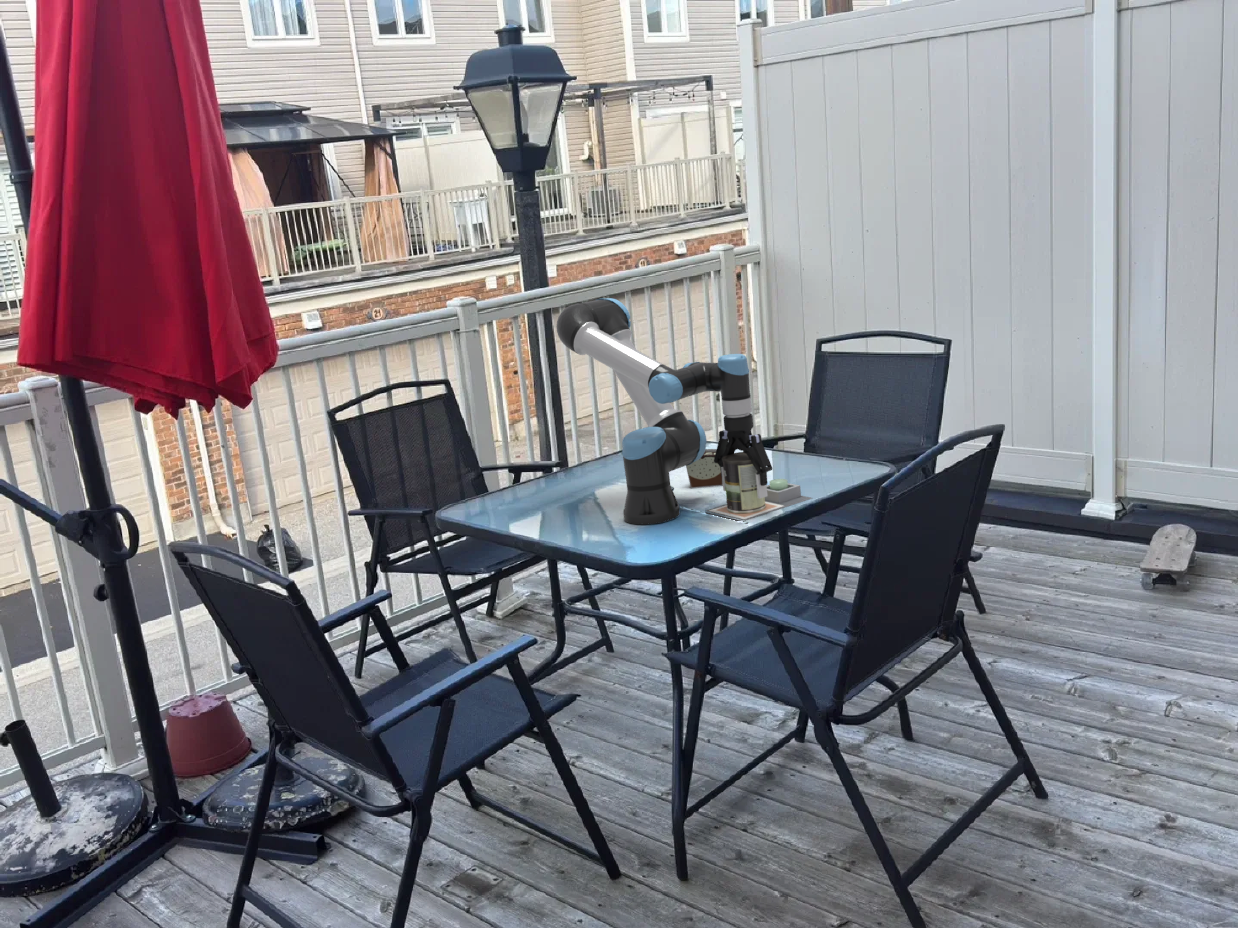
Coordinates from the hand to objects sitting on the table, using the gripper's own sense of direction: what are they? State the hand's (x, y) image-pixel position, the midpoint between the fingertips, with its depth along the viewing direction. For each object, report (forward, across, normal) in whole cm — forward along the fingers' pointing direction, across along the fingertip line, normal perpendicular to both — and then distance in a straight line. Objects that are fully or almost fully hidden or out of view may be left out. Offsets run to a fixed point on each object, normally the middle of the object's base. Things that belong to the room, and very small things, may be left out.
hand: (745, 493), depth 285 cm
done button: (+3, 0, -12) cm, 12 cm away
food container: (+5, +32, -12) cm, 34 cm away
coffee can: (+4, 0, 0) cm, 4 cm away
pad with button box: (+5, 0, -4) cm, 7 cm away
